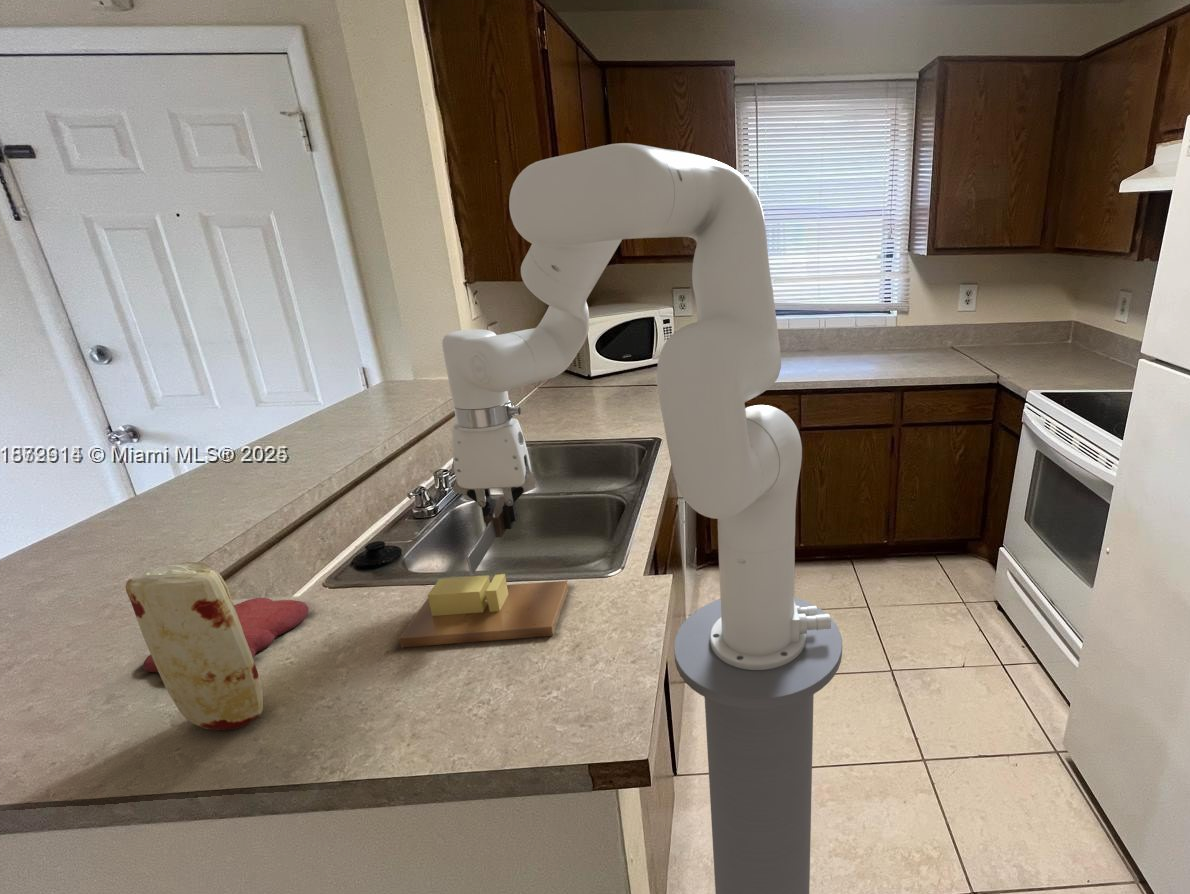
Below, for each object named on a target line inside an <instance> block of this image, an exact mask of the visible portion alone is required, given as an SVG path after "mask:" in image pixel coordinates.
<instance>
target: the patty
mask: <svg viewBox="0 0 1190 894" xmlns="http://www.w3.org/2000/svg"><path fill="white" fill-rule="evenodd" d="M234 607H235V610H236V612H237V615H238V618H239V621H240V623H241V626H242V629H243V632H244V635H245V637H246V640H247V643H248V646H249V649H250V651H251V654H252V657H253V659H254V658H255V657H256V654H257V653H259V652H261V651H263V650H264V649H266V648H268V647H269V646H270V645H271V644H272V643H273V642H274V641H275V640H274V639H276V638H277V637H279V636H281V635H283V634H285V633H286V632H289V631H291V630H292V629H294V628H296V627H297V626H298V625H299V624H301V623H302V622H303V621H304V620H306V618H307V617H308V614H309V611H310V610H309V607H308V605H307V604H306V603H304V602H303V601H299V600H295V599H282V600H281V599H279V600H272V599H270V598H267V597H254V598H251V599H246V600H244V601H242V602H239V603H236V604H234ZM142 667H143V669H144V671H146V672H149V673H159V672H158V669H157V667H156V665H155V663H154V660H153V658H152V656H151V653H150V654H149V655H148V656H147V657H146V658H145V659H144V661H143V664H142Z"/></svg>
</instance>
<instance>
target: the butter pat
mask: <svg viewBox="0 0 1190 894" xmlns="http://www.w3.org/2000/svg"><path fill="white" fill-rule="evenodd" d="M507 585H508V584H507V578H506V573H501V574H494V576H493V578H492V580H490V585H489V587H488V588H487V590H486V594H487V599H488V605H489V610H490V612H497V611H500V610H501V608H502V606H503V604H504V602H505V600H506V598H507V596H508V589H507Z"/></svg>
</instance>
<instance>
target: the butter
mask: <svg viewBox="0 0 1190 894" xmlns="http://www.w3.org/2000/svg"><path fill="white" fill-rule="evenodd" d="M490 583H491V580H490V576H489V574H487V575H476V576H475V575H473V576H457V577H444V578H443V577H442V578H439V579H437V582H435V584H434V585H433V587H432V588H431V590H430V591H429V592H428V594H427V599H428V600H429V604H430V609H431V613H432V616H441V615H455V614H468V613H482V612H484V610H485V608H486V606H487V604H488V599H487V594H486V590H487V588H488V587H489V585H490Z"/></svg>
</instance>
